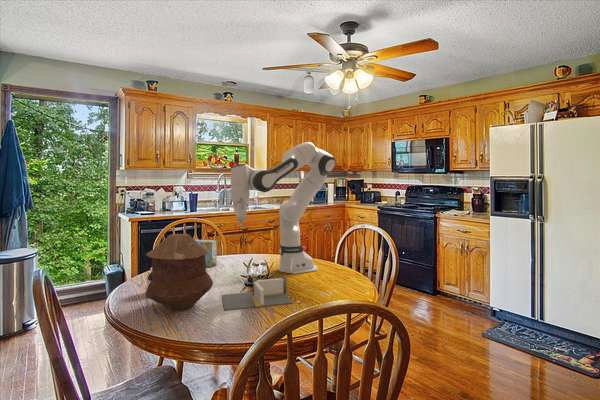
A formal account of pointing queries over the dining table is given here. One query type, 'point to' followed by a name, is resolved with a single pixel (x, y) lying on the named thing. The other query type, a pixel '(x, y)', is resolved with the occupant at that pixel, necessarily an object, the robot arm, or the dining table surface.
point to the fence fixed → (272, 285)
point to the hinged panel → (259, 293)
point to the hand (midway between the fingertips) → (240, 226)
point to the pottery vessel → (178, 273)
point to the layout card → (253, 300)
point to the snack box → (209, 251)
